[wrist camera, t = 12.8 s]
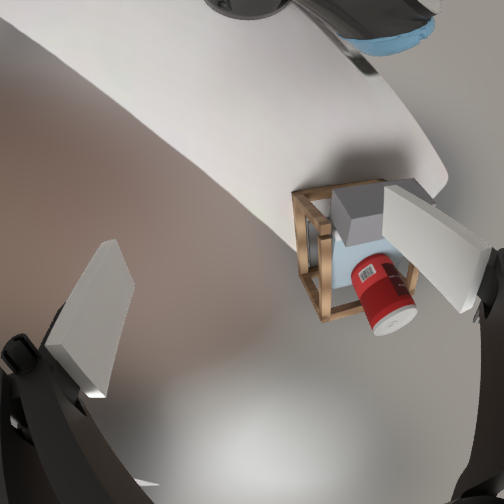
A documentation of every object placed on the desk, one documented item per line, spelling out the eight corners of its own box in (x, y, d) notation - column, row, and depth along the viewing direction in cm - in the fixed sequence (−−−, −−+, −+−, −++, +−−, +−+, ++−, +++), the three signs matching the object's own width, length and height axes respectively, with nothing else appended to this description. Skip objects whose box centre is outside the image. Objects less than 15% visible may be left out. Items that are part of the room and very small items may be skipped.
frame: (291, 192, 49) (320, 225, 36) (382, 178, 49) (429, 205, 37) (298, 275, 58) (321, 323, 45) (378, 256, 58) (413, 295, 46)
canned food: (344, 285, 47) (367, 340, 40) (357, 255, 41) (386, 315, 34) (379, 278, 48) (404, 328, 41) (395, 249, 42) (426, 303, 35)
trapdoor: (330, 189, 35) (349, 219, 31) (415, 178, 36) (438, 203, 32) (319, 275, 50) (330, 302, 46) (387, 258, 50) (401, 282, 46)
